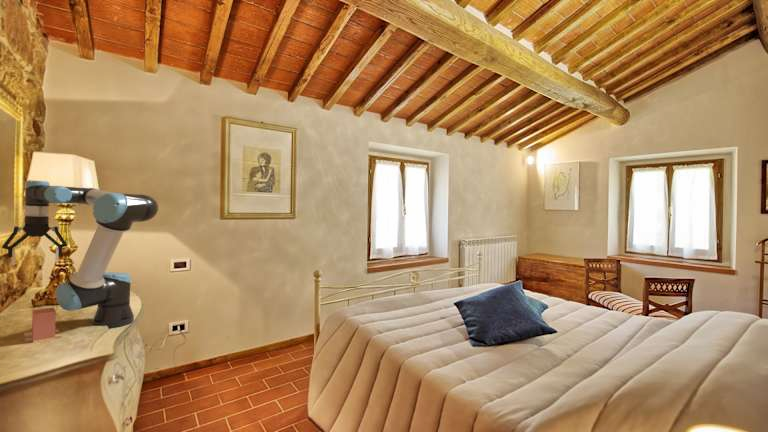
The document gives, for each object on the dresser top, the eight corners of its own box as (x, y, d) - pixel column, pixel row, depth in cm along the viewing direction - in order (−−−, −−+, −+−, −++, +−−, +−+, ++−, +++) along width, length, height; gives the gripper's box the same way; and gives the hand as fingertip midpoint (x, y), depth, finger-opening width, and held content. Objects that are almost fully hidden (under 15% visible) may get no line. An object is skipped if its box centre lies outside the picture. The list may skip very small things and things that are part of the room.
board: (61, 340, 136) (61, 337, 136) (25, 347, 129) (25, 344, 129) (57, 330, 147) (57, 327, 147) (23, 335, 139) (23, 332, 139)
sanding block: (55, 338, 135) (55, 312, 135) (33, 342, 131) (33, 315, 130) (52, 333, 140) (53, 307, 140) (31, 336, 136) (32, 310, 136)
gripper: (73, 215, 164) (72, 260, 164) (-6, 214, 145) (-7, 264, 146) (75, 216, 159) (74, 262, 159) (-6, 215, 140) (-7, 267, 141)
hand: (35, 263), depth 153 cm, fingers open, 13 cm apart
